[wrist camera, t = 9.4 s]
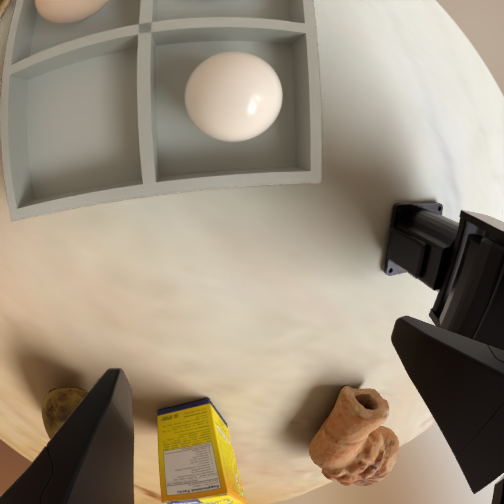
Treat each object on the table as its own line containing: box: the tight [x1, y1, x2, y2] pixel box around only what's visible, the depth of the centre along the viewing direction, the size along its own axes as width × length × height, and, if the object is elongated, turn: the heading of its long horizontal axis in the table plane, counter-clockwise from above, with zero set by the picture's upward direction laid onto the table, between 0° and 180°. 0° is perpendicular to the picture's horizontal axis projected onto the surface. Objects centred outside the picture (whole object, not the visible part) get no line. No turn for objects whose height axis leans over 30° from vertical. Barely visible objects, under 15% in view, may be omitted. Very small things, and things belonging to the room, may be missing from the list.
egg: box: [184, 51, 283, 142], centre depth 13 cm, size 5×5×5 cm
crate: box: [0, 0, 322, 222], centre depth 12 cm, size 19×19×3 cm
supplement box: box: [157, 398, 247, 504], centre depth 21 cm, size 6×6×11 cm
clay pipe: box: [309, 385, 399, 486], centre depth 30 cm, size 19×11×15 cm
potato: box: [42, 387, 88, 439], centre depth 18 cm, size 8×13×8 cm, turn 128°
